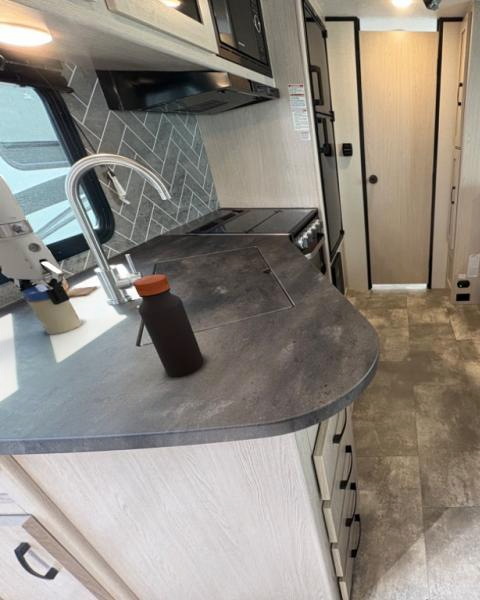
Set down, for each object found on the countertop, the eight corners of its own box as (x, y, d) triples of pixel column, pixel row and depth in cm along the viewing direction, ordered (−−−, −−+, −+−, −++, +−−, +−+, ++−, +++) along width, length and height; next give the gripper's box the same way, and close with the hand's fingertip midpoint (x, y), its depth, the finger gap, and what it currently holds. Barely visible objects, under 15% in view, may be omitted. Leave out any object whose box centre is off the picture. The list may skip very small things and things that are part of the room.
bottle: (205, 369, 65) (171, 281, 56) (166, 382, 62) (123, 290, 53) (203, 353, 70) (172, 269, 61) (167, 364, 67) (128, 277, 58)
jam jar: (39, 336, 78) (15, 298, 73) (57, 323, 83) (35, 286, 79) (71, 331, 79) (50, 294, 74) (87, 319, 85) (67, 283, 80)
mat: (63, 298, 97) (62, 296, 97) (75, 290, 103) (74, 288, 102) (86, 295, 99) (85, 293, 99) (97, 287, 104) (96, 286, 104)
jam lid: (67, 293, 78) (63, 286, 77) (27, 304, 73) (22, 296, 72) (61, 286, 81) (58, 280, 81) (23, 296, 77) (18, 289, 76)
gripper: (58, 226, 72) (94, 296, 80) (-4, 226, 74) (37, 293, 82) (19, 235, 65) (62, 310, 73) (-48, 234, 68) (1, 307, 76)
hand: (49, 301), depth 78 cm, fingers closed on jam lid, 6 cm apart
